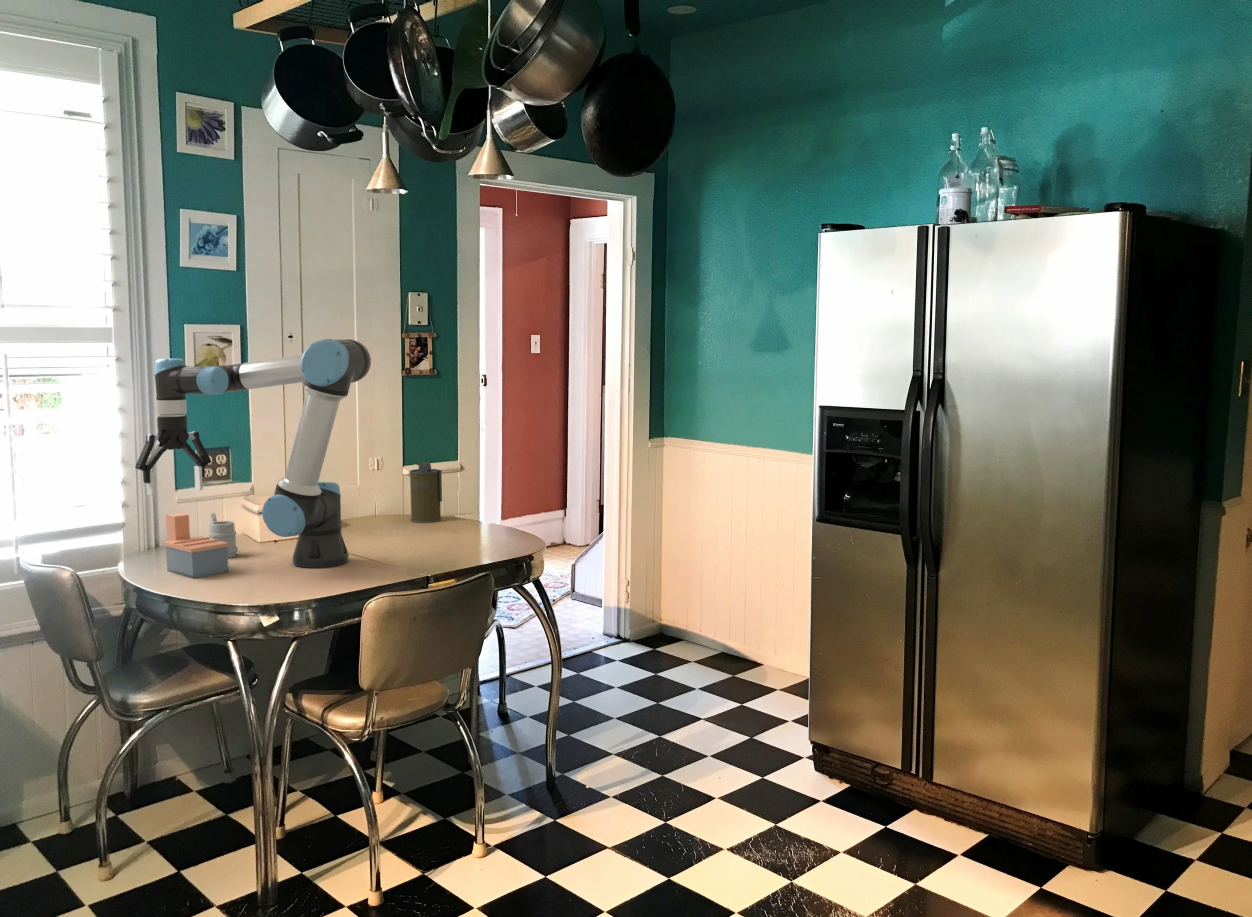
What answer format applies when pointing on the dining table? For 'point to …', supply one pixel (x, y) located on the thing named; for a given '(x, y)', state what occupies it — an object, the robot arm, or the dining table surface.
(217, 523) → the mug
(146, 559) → the dining table surface
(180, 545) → the lid
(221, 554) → the tub
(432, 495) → the canister
